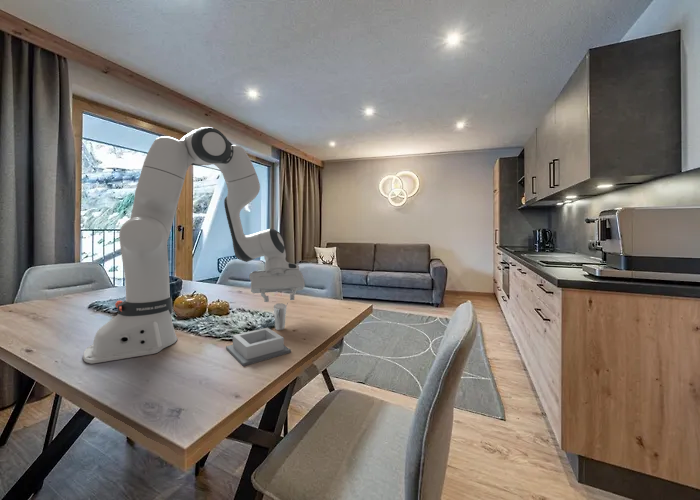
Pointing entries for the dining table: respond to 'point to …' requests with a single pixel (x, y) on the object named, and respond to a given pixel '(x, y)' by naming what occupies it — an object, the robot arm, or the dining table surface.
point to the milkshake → (280, 315)
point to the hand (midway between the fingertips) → (279, 300)
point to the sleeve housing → (257, 346)
